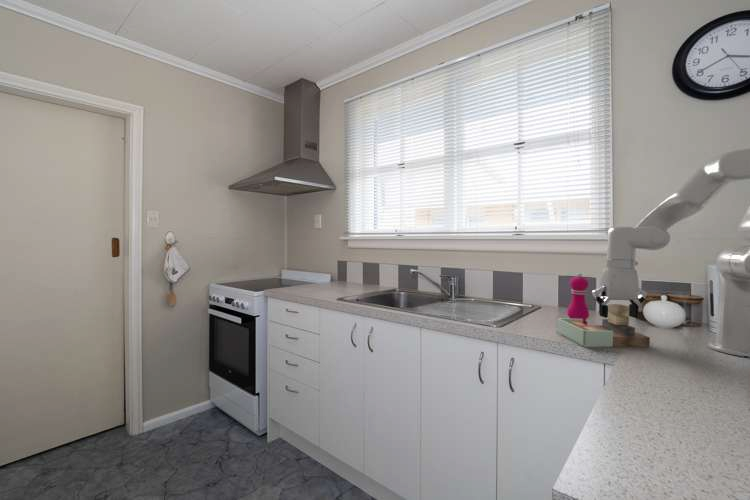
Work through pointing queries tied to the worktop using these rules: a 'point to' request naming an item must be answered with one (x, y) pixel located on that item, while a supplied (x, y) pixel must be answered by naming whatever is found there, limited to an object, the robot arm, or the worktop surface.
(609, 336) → the tray
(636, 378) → the worktop surface
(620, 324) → the scraper
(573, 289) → the pepper mill
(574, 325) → the tile
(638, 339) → the board
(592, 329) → the tile
